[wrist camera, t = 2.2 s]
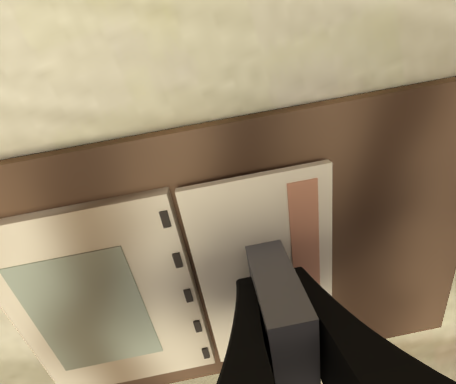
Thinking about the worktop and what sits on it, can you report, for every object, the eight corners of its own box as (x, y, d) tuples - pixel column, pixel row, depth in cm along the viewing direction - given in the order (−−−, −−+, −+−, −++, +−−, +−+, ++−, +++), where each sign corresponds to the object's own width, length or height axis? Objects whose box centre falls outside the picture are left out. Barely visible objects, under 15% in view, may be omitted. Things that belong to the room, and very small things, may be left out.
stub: (327, 159, 10) (407, 214, 6) (328, 332, 15) (377, 430, 11) (175, 188, 10) (161, 262, 6) (220, 354, 14) (229, 462, 11)
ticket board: (480, 71, 11) (529, 72, 9) (427, 313, 17) (452, 339, 15) (-64, 172, 10) (-113, 191, 9) (78, 385, 16) (65, 420, 15)
